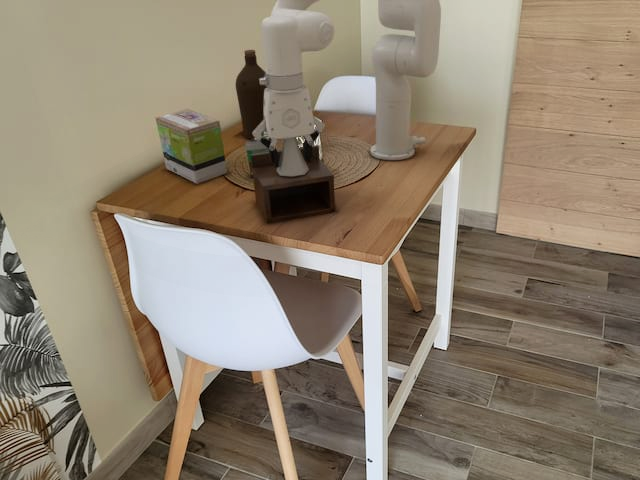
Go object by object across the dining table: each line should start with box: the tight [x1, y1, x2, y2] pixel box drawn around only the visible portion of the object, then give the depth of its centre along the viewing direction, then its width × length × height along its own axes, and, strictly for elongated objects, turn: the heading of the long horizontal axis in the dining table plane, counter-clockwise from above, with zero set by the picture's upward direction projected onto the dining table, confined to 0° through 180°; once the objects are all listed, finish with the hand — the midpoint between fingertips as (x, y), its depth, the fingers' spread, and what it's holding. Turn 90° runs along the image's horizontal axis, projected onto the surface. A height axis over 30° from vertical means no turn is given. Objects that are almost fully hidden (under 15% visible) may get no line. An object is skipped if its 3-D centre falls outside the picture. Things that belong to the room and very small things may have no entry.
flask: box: [277, 137, 309, 176], centre depth 126 cm, size 7×7×10 cm
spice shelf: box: [250, 144, 336, 224], centre depth 130 cm, size 16×12×12 cm
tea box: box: [155, 108, 228, 185], centre depth 149 cm, size 15×10×15 cm
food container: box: [244, 130, 279, 179], centre depth 150 cm, size 12×6×10 cm, turn 168°
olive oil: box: [235, 49, 267, 140], centre depth 172 cm, size 11×11×25 cm
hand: (291, 162), depth 127 cm, fingers open, 6 cm apart
